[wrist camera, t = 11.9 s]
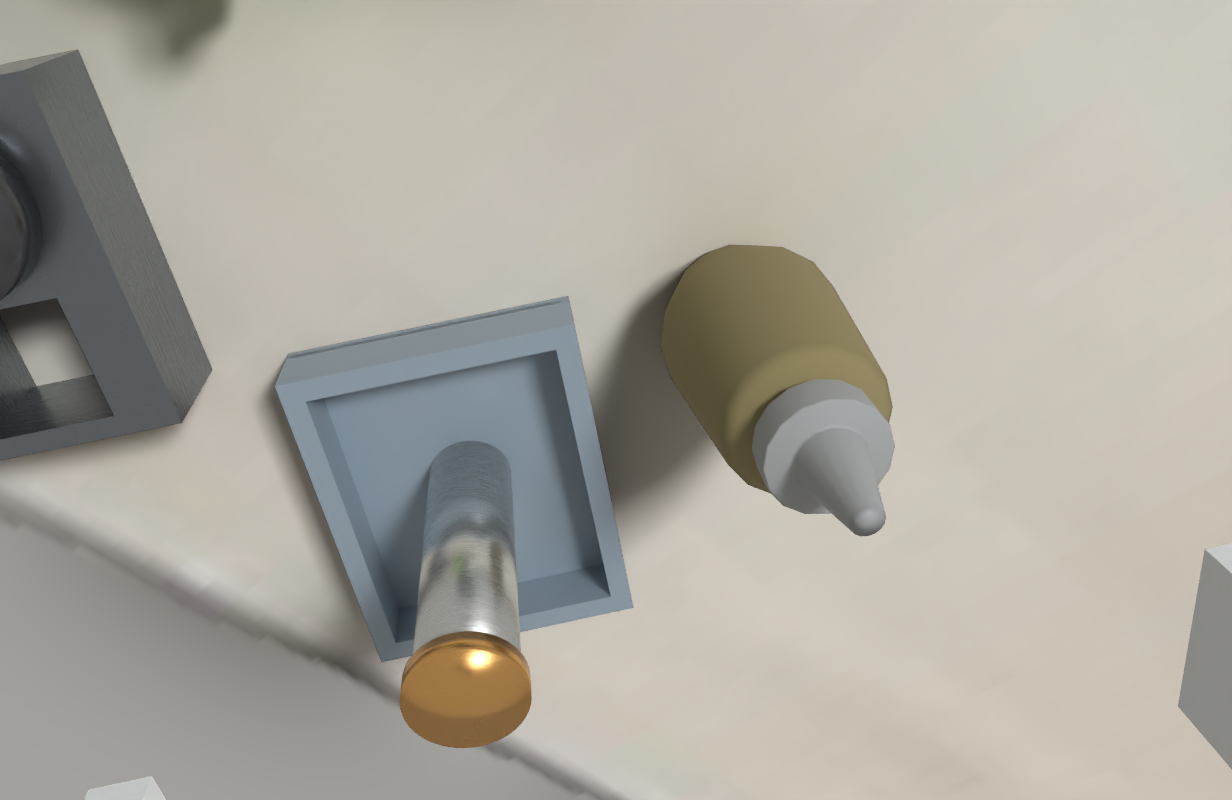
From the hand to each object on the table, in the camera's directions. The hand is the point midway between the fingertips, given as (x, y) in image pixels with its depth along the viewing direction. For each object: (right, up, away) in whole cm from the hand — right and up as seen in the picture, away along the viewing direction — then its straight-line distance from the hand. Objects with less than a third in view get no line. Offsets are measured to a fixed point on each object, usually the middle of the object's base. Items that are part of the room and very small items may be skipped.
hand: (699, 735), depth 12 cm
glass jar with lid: (-8, +1, +35) cm, 36 cm away
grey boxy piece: (-25, +11, +28) cm, 39 cm away
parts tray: (-8, +1, +35) cm, 36 cm away
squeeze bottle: (+4, +9, +33) cm, 35 cm away
